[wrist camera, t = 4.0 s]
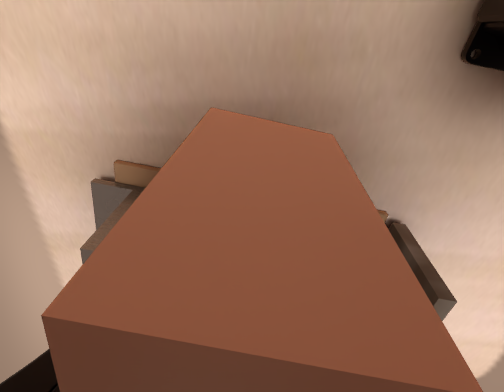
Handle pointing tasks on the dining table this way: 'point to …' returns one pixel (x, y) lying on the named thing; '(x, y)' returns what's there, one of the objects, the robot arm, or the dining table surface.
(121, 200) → the bookend
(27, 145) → the dining table surface
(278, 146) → the terracotta rectangular block
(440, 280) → the shelf
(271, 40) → the dining table surface
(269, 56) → the dining table surface
